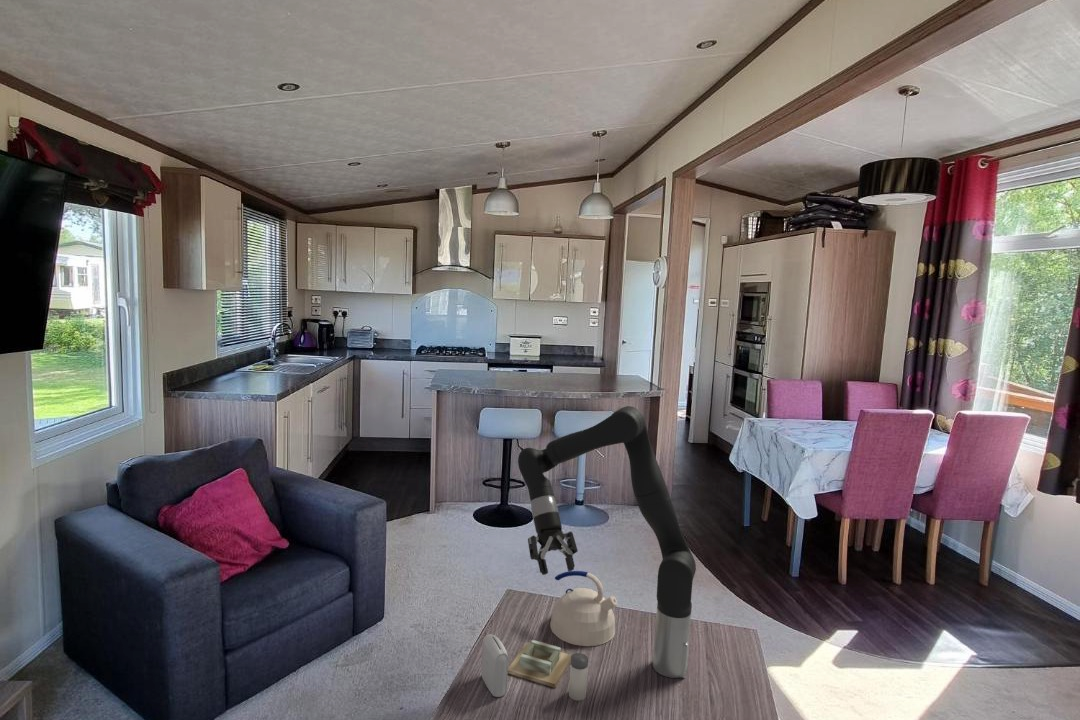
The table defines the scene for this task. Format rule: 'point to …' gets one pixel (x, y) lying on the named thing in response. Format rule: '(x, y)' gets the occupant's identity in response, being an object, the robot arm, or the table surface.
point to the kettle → (584, 614)
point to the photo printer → (494, 665)
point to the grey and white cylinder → (578, 676)
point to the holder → (540, 663)
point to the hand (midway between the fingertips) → (558, 572)
